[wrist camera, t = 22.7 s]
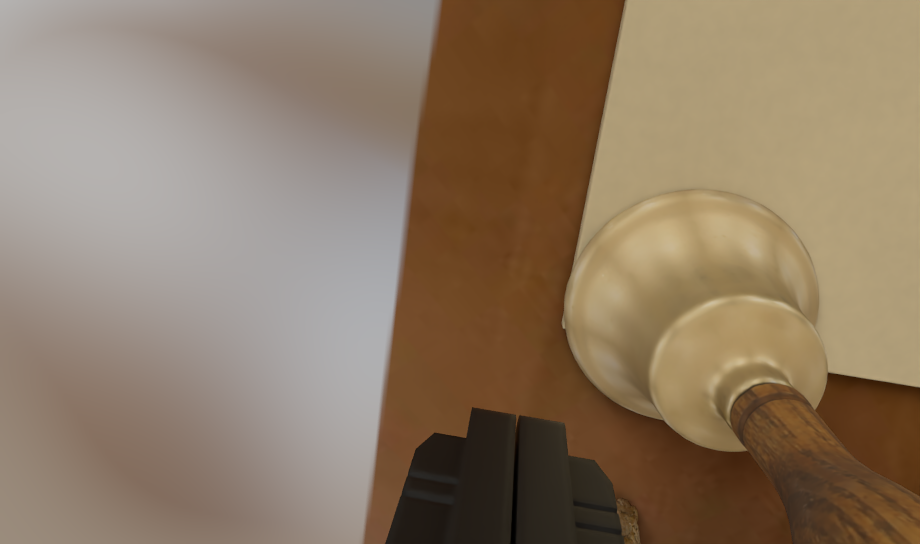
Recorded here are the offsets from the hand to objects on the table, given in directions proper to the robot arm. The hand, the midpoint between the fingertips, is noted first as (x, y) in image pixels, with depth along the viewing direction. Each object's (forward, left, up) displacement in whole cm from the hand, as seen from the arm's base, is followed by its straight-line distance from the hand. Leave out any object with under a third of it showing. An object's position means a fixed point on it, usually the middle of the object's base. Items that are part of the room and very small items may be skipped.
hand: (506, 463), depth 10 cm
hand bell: (-1, -6, -12) cm, 13 cm away
